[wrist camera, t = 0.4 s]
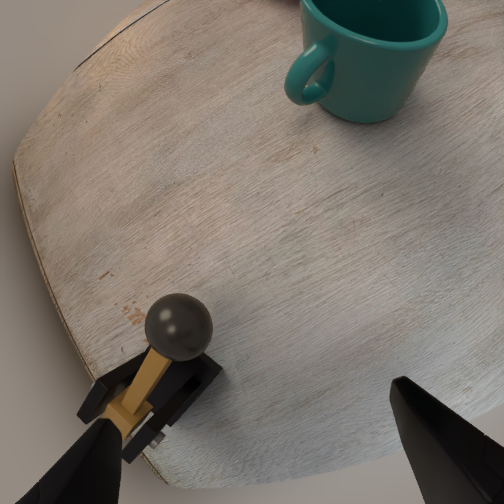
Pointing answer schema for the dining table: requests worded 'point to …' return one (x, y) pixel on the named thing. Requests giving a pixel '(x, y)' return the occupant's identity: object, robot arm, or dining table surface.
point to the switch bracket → (152, 396)
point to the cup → (364, 54)
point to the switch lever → (162, 354)
